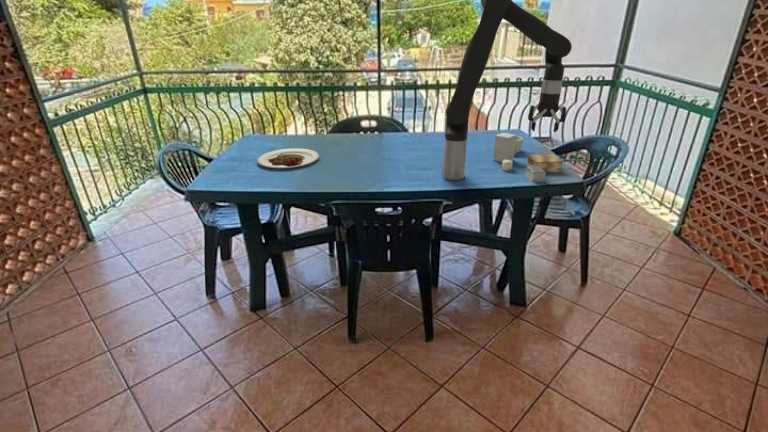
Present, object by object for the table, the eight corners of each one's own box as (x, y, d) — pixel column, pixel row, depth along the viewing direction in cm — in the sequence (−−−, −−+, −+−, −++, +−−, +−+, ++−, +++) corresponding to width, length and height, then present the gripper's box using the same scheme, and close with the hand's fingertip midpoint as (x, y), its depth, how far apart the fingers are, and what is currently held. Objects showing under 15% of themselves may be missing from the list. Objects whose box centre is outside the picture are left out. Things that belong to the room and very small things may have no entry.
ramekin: (518, 147, 219) (520, 134, 216) (524, 155, 207) (525, 141, 204) (493, 147, 220) (495, 134, 217) (497, 154, 209) (498, 141, 206)
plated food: (287, 148, 224) (286, 142, 222) (331, 157, 210) (330, 150, 208) (244, 164, 201) (243, 158, 200) (290, 175, 187) (289, 168, 186)
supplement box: (513, 160, 200) (517, 134, 195) (505, 163, 196) (508, 137, 190) (500, 156, 205) (503, 132, 199) (492, 160, 200) (495, 135, 195)
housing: (544, 182, 174) (545, 172, 172) (532, 182, 175) (533, 172, 173) (536, 173, 183) (538, 164, 181) (525, 174, 183) (526, 164, 182)
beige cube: (503, 171, 187) (504, 162, 185) (500, 168, 191) (501, 159, 189) (512, 171, 187) (514, 162, 185) (510, 167, 191) (511, 159, 189)
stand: (534, 172, 184) (535, 161, 182) (526, 165, 193) (528, 155, 191) (560, 172, 184) (562, 161, 182) (552, 164, 193) (553, 154, 191)
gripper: (533, 92, 162) (527, 132, 170) (571, 93, 160) (563, 134, 167) (531, 89, 169) (525, 128, 176) (567, 90, 167) (559, 129, 174)
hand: (543, 131), depth 172 cm, fingers open, 8 cm apart
